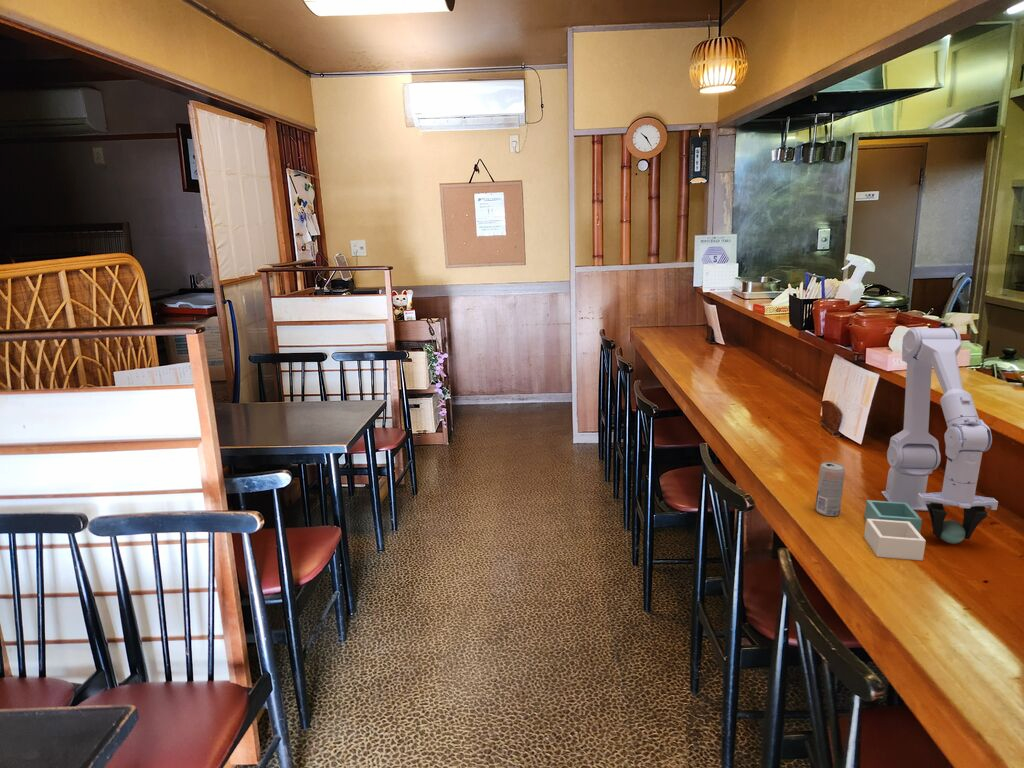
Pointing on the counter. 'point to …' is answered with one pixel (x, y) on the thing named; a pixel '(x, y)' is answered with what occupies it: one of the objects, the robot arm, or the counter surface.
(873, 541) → the shallow white tray
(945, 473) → the robot arm
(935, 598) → the counter surface
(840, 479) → the energy drink
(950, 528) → the teal ball
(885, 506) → the teal open square box
